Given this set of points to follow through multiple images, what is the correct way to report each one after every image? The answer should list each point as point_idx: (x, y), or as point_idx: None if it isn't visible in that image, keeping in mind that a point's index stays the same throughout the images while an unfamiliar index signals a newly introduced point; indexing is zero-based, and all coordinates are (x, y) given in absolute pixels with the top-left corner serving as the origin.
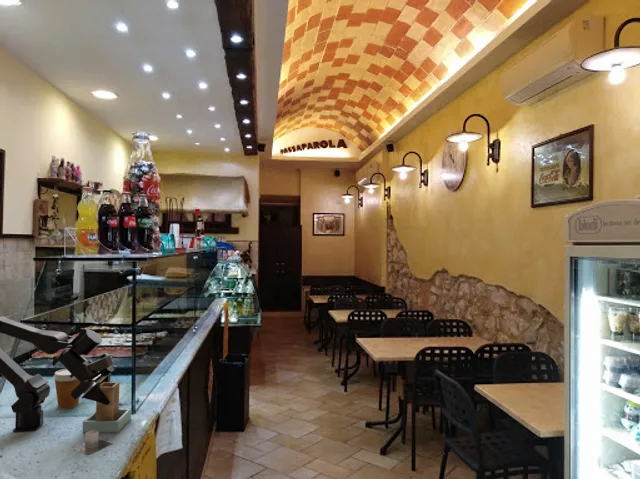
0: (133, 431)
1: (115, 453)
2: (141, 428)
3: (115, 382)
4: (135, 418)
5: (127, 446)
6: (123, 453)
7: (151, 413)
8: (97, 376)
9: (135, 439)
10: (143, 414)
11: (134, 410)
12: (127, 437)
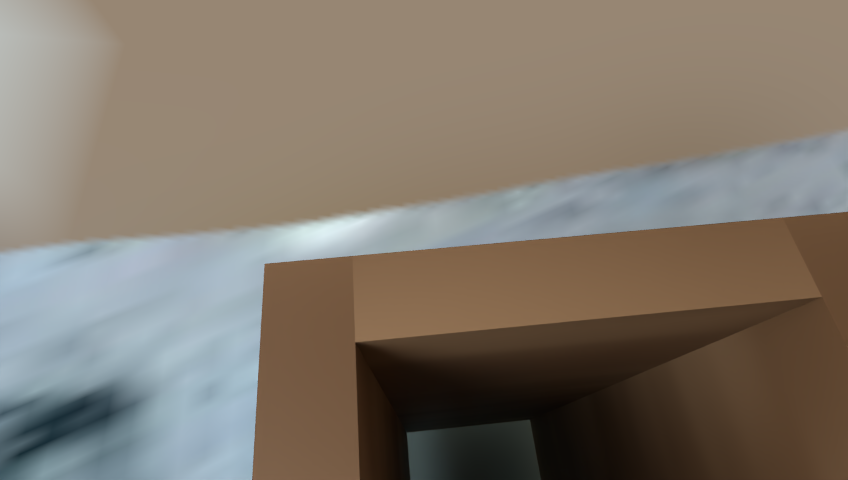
0: (499, 236)
1: (833, 201)
2: (440, 205)
3: (292, 415)
4: (245, 331)
5: (721, 176)
6: (809, 159)
7: (143, 248)
8: None
9: (614, 172)
10: (157, 302)
11: (34, 431)
12: (602, 232)
